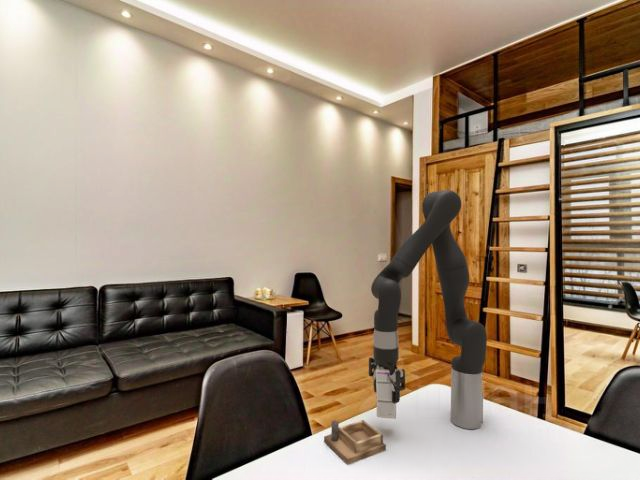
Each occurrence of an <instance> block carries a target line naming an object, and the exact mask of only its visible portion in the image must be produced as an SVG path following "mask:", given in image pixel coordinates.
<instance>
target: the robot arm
mask: <svg viewBox="0 0 640 480" xmlns="http://www.w3.org/2000/svg"><path fill="white" fill-rule="evenodd" d="M422 200H423V201H422V202H421V203H422V204H421V208H422V209H421V210H422V214H423V217H424V221H423V223H422V224H421V226H419V228H417V230H415V232H414V233H412V234H411V235H409V237H408V238H407V239H406V240H405V241H404V242H403V244H401V245H400V247H399V249H398V250H397V251H396V252H395V254H394V256H393V257H392V258H391V260H390V262H389V263H388V264H387V265H386V266H385V267H384V268H383V269H382V270H381V271H380V272H379V273H378V274H377V275H376V277H375V278H374V280H373V281H372V283H371V287H370V289H371V290H370V291H371V295H372V296H373V297H374V298H376V299H377V300H378V305H377V309H376V310H375V311H374V316H373V329H374V331H373V337H372V340H373V343H372V344H373V345H372V346H373V347H372V348H373V349H372V350H373V356H371V357H368V376H369V377H371V379H372V381H373V392H374V393H376V367H379V368H380V367H384V368H383V369H384V370H386V369H388V370H389V374H390V375H393V373H394V372H395V380H394V379H393V380H391V379H390V376H389V374H388V373H387V372H386V374H387V381H388V383H389V384H390V385H391V388H392V403H394V404H395V403H396V404H398V403H399V402H400V401H401V397H400V395H401V393H400V392H401V391H405V390H406V371H405V369H404V368H402V369H400V368H398V366H397V363H398V360H399V359H400V358H399V357H400V356H399V355H400V353H399V352H400V351H399V350H400V349H399V346H400V345H399V331H398V326H399V325H398V324H399V323H398V322H399V321H398V315H399V311H400V305H401V300H402V290H401V287H400V285H399V283H400V282H401V281H402V280H403V279H406V278H408V277H409V276H410V275H411V274H412V272H413V271H414V270H415V268H416V266H418V263H419V262H420V260H421V259H422V257H423V256H424V255H425V253H426V252H427V250H428V249H429V248H430V247H432V251H433V256H434V260H435V266H436V271H437V276H438V280H439V284H440V290H441V296H442V300H443V301H442V302H443V306H444V315H445V328H446V333H447V337H448V338H449V340H450V341H451V343H453V344H454V345H456V346H459V347H461V348H460V350H461V351H460V355H457V356H453V357H452V359H451V368H450V369H451V370H450V371H451V372H450V375H451V376H450V413H449V415H450V421H451V423H452V424H454V425H455V426H457V427H460V428H461V429H465V430H477V429H479V428H481V426H482V423H483V422H484V421H483V420H484V393H483V367H484V364H485V362H486V356H487V355H486V353H487V342H488V341H487V340H488V337H487V336H488V334H487V329H486V327H485V326H484V325H483V324H482V323H480V322H478V321H476V320H472V319H470V318H468V316H467V313H466V307H465V296H466V293H467V290H468V288H469V284H470V273H469V267H468V263H467V258H466V256H465V254H464V251H462V248H461V247H460V246H459V244H458V241H456V239H455V237H454V235H453V233H452V229H451V226H450V225H451V222H452V221H454V219H455V218H456V217H457V216H458V215H459V213H460V212H461V209H462V199H461V197H460V195H459V194H458V193H457V192H456V191H453V190H449V189H447V190H446V189H445V190H438V191H432V192H428V194H426V195H425V196H424V198H423V199H422ZM377 365H378V366H377ZM394 382H395V384H396V386H395V385H394Z"/></svg>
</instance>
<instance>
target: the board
mask: <svg viewBox="0 0 640 480" xmlns="http://www.w3.org/2000/svg"><path fill="white" fill-rule="evenodd" d="M339 423H340V422H339V420H336V419H335V420H332V421H331V434H328V435H325V436H324V437H323V442H324V443H325V445H326V446H328V447H329V448H330V449H331V450H332V451H333V452H334V453H335V454H336V455H337V456H338V457H339V458H340V459H341V460H343V462H344V463H345V464H347V465H350V464H353V463H355V462H358V461H360V460H365V459H366V458H369V457H371V456H375V455H377V454H381V453H382V452H385V451H386V450H387V444H386V443H384V434H383V433H381V432H380V431H378V430H377V429H376V428H374V427H373V426H372V425H370V424H369V423H368V422H367V421H365V420H364V419H362V420H359V421H356V422H352V423H349V424H346V425H342V426H340V427H339Z"/></svg>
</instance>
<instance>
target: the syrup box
mask: <svg viewBox="0 0 640 480" xmlns="http://www.w3.org/2000/svg"><path fill="white" fill-rule="evenodd" d="M377 366H378V365H377ZM383 368H384V367H380V368H379V367H376V392H375V393H376V395H375V396H376V417H377V418H382V419H393V420H396V419H397V403H395V404H394V403H392V388H391V385H390V384H389V383H388V381H387V374H386V372H387V373H388V374H389V370H388V369H386V370H384V369H383ZM389 376H390V379H391V380H393V379H394V380H395V372H394V373H393V375H390V374H389ZM394 385H395V386H396V384H395V382H394Z"/></svg>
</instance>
